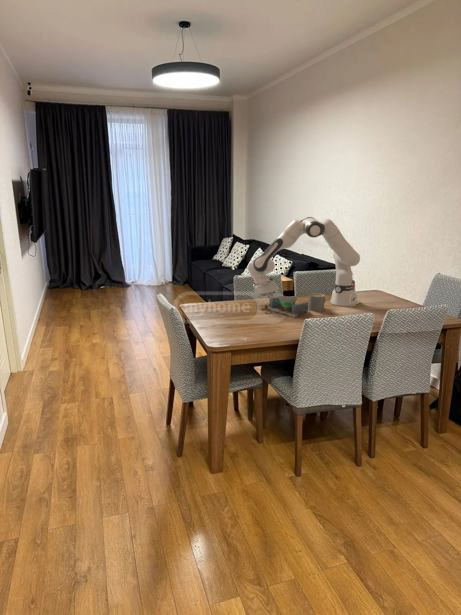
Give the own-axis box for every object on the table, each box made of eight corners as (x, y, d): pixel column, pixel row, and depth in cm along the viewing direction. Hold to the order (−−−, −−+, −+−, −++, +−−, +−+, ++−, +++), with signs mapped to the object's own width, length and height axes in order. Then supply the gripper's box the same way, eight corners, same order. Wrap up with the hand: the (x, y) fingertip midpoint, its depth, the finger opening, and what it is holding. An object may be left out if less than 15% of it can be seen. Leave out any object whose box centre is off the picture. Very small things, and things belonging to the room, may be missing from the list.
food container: (279, 313, 283) (280, 298, 280) (277, 310, 289) (278, 295, 286) (298, 312, 285) (299, 298, 282) (295, 310, 291) (296, 295, 288)
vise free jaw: (283, 303, 300) (283, 295, 299) (286, 304, 298) (286, 296, 297) (269, 306, 291) (269, 298, 289) (272, 307, 289) (273, 299, 288)
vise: (282, 305, 302) (283, 295, 300) (310, 312, 286) (310, 302, 284) (267, 309, 291) (267, 298, 289) (294, 317, 275) (295, 306, 274)
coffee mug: (315, 312, 287) (316, 297, 284) (305, 308, 295) (306, 294, 293) (330, 310, 294) (332, 295, 291) (320, 306, 302) (322, 292, 299)
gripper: (254, 282, 292) (264, 299, 288) (274, 278, 306) (284, 294, 302) (249, 287, 297) (259, 304, 293) (269, 283, 310) (279, 299, 306)
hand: (272, 299), depth 297 cm, fingers closed
